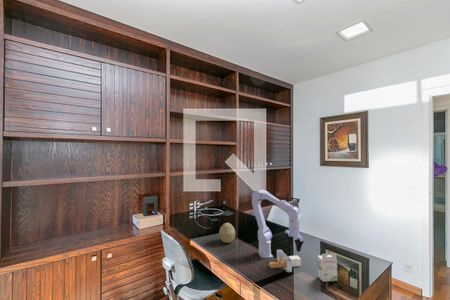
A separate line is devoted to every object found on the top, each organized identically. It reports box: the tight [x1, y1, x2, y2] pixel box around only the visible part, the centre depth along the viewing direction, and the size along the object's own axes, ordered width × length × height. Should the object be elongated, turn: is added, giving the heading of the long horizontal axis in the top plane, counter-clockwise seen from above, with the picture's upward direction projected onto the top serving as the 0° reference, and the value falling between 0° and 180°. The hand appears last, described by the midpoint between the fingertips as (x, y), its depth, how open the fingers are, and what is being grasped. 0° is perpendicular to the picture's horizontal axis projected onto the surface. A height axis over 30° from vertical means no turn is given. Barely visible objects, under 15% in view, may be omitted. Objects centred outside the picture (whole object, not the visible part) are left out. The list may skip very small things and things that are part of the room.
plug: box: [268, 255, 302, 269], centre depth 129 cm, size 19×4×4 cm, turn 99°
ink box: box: [317, 252, 339, 282], centre depth 115 cm, size 9×5×15 cm, turn 92°
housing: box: [276, 249, 293, 273], centre depth 129 cm, size 14×3×7 cm, turn 9°
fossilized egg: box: [218, 222, 236, 244], centre depth 165 cm, size 13×13×15 cm
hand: (294, 248), depth 130 cm, fingers open, 7 cm apart
